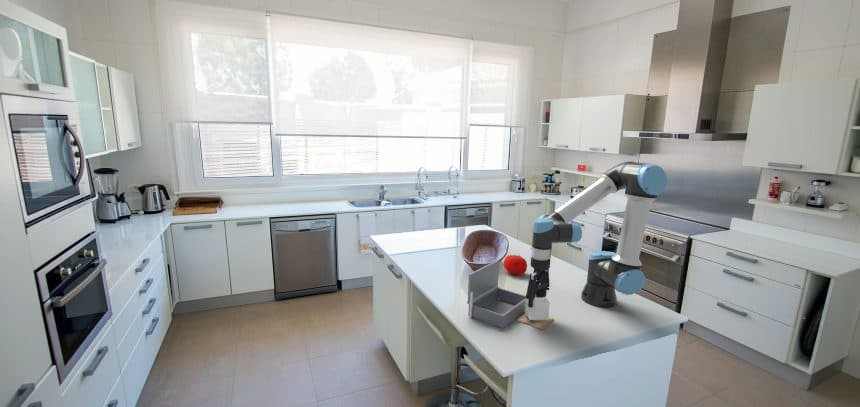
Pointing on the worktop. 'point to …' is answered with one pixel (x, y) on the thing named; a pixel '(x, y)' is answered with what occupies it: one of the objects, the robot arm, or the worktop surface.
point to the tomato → (515, 264)
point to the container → (539, 305)
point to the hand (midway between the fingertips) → (536, 309)
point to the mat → (535, 321)
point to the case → (491, 296)
